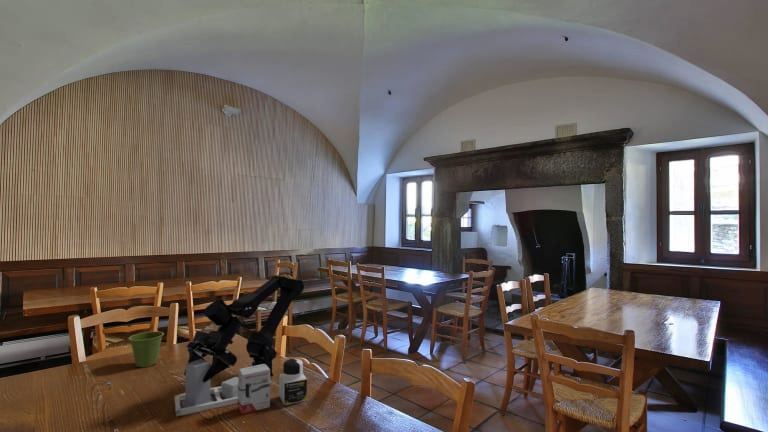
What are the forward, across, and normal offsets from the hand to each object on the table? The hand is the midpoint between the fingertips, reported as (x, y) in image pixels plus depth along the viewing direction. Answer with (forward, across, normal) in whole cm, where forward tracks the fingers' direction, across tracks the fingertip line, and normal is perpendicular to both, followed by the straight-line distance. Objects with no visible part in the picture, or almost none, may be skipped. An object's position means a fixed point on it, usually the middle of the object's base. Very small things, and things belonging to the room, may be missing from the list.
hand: (194, 378), depth 120 cm
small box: (-2, +5, +13) cm, 14 cm away
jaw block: (+4, 0, +6) cm, 8 cm away
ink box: (0, +17, +12) cm, 21 cm away
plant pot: (-2, -47, +14) cm, 49 cm away
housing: (+2, +2, +10) cm, 10 cm away
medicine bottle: (-8, +23, +19) cm, 31 cm away
